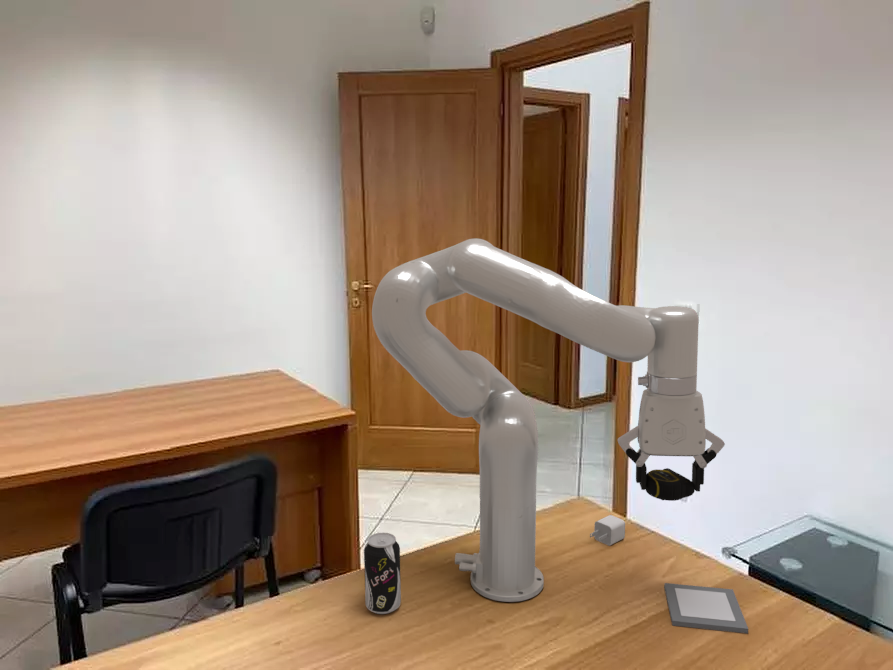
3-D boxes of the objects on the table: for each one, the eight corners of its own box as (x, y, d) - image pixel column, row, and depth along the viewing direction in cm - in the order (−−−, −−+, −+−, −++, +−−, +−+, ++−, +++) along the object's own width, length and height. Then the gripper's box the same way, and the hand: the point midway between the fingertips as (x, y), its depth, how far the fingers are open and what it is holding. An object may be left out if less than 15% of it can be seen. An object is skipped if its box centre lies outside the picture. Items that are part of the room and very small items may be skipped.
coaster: (672, 625, 105) (672, 620, 105) (664, 587, 116) (664, 582, 115) (747, 633, 103) (748, 628, 103) (732, 593, 114) (732, 588, 113)
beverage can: (365, 618, 107) (363, 548, 105) (366, 598, 113) (363, 531, 111) (401, 616, 108) (400, 546, 106) (400, 596, 113) (399, 529, 111)
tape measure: (696, 501, 110) (697, 479, 109) (660, 507, 108) (661, 485, 107) (670, 485, 116) (671, 465, 116) (635, 491, 114) (636, 470, 114)
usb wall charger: (624, 539, 132) (625, 520, 132) (602, 551, 128) (603, 531, 127) (607, 532, 135) (608, 513, 135) (585, 543, 131) (586, 524, 130)
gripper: (617, 389, 106) (616, 495, 109) (735, 390, 103) (730, 498, 107) (613, 378, 113) (613, 477, 117) (723, 378, 111) (719, 480, 114)
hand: (669, 486), depth 112 cm, fingers closed on tape measure, 7 cm apart
